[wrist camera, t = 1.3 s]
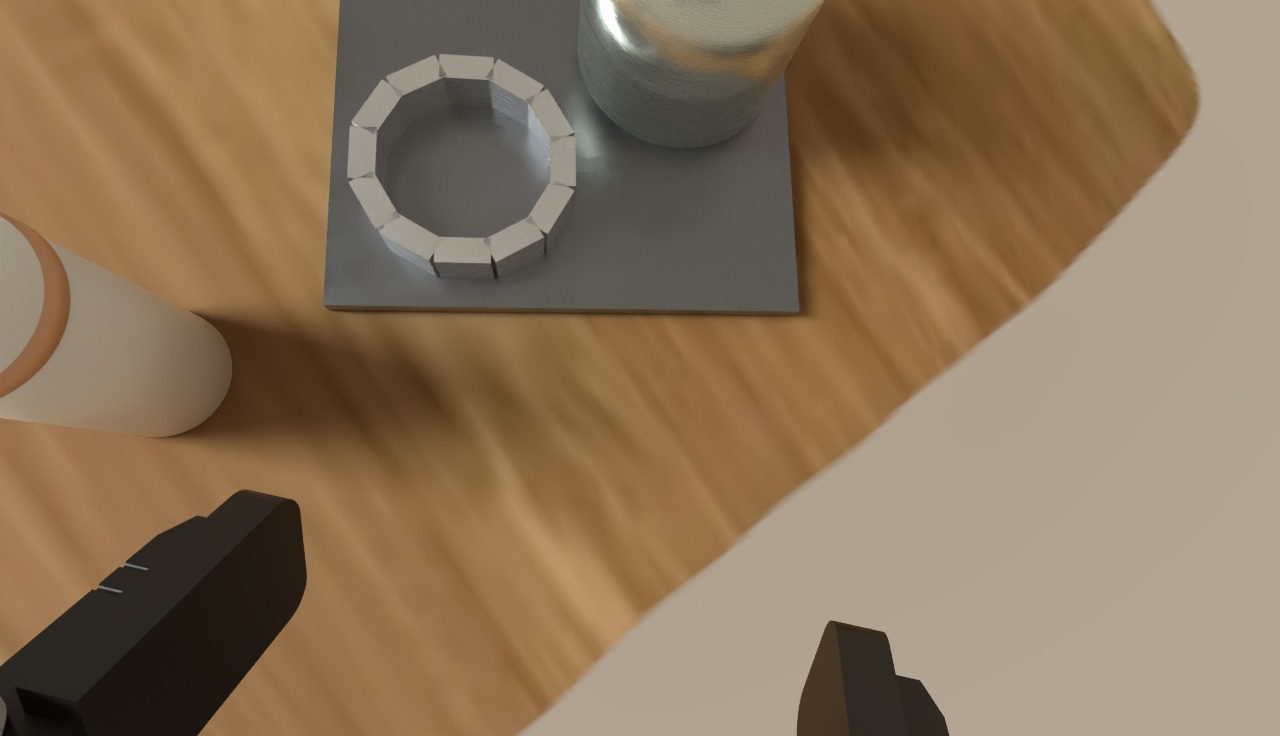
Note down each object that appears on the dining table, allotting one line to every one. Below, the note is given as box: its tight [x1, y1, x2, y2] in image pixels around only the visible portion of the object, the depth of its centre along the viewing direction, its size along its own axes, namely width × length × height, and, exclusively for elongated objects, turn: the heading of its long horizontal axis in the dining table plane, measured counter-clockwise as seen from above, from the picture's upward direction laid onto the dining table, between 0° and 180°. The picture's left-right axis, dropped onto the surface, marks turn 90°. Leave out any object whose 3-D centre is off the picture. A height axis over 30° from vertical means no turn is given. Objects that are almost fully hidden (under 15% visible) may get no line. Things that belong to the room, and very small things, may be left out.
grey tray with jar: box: [323, 0, 825, 316], centre depth 25 cm, size 20×17×12 cm
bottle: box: [0, 211, 232, 437], centre depth 20 cm, size 5×5×14 cm
